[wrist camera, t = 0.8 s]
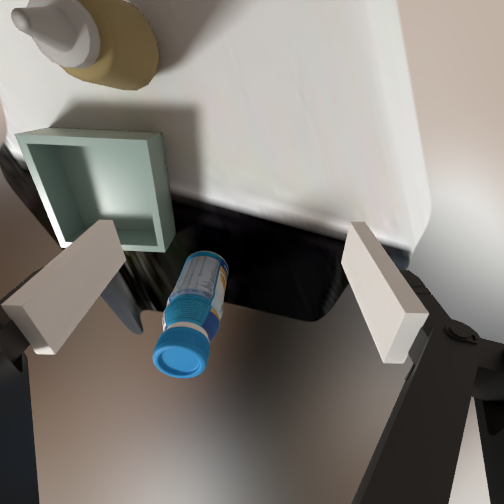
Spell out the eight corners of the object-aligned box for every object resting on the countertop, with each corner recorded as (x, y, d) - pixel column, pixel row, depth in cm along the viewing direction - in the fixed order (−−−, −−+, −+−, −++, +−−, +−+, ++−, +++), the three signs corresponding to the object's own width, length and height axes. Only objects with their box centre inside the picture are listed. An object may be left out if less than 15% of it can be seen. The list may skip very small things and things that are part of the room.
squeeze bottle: (98, -3, 29) (-76, -98, 14) (170, 17, 30) (79, -51, 15) (103, 81, 34) (-26, 77, 18) (167, 97, 34) (92, 107, 19)
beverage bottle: (206, 240, 46) (174, 330, 29) (239, 270, 49) (227, 367, 32) (175, 265, 49) (130, 360, 32) (207, 292, 52) (182, 390, 35)
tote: (48, 127, 37) (14, 134, 32) (162, 132, 37) (146, 140, 32) (83, 229, 45) (61, 247, 40) (176, 233, 45) (165, 252, 40)
